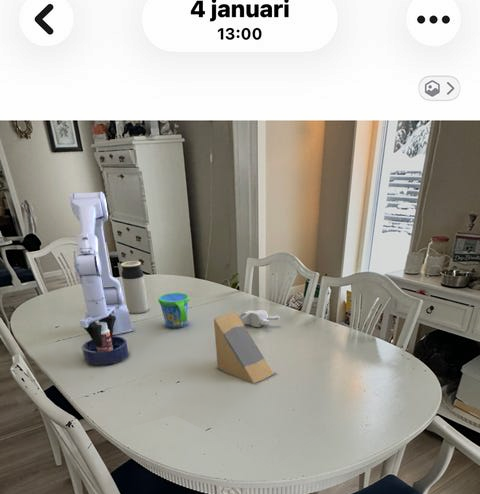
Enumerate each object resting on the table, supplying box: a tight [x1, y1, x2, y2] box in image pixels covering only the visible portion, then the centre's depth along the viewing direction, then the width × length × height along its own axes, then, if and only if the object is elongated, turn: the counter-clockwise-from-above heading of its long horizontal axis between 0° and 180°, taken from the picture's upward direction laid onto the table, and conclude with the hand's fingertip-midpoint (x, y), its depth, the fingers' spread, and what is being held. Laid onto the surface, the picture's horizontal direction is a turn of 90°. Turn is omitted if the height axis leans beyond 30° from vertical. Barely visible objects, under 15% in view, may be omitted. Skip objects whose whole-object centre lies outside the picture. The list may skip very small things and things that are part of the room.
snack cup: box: [158, 292, 190, 329], centre depth 166 cm, size 16×10×10 cm
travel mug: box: [120, 260, 149, 314], centre depth 180 cm, size 8×8×18 cm
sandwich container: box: [213, 311, 275, 384], centre depth 130 cm, size 9×15×15 cm, turn 44°
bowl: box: [81, 335, 129, 366], centre depth 145 cm, size 13×13×4 cm
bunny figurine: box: [238, 309, 281, 328], centre depth 164 cm, size 10×5×15 cm
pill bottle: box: [96, 321, 113, 352], centre depth 142 cm, size 5×5×8 cm
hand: (104, 342), depth 143 cm, fingers closed on pill bottle, 5 cm apart
